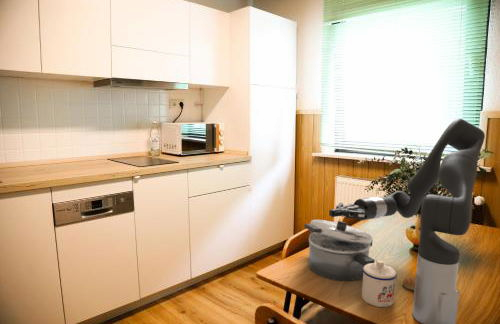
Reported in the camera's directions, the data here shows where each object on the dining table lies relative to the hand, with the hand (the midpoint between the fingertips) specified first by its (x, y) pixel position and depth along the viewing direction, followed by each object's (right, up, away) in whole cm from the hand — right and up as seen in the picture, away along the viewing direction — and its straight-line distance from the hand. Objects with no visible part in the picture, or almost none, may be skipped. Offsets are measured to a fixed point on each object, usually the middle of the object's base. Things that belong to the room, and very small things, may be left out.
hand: (330, 213), depth 114 cm
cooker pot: (+4, -20, +5) cm, 21 cm away
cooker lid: (+3, -7, +2) cm, 8 cm away
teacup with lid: (+11, -23, -15) cm, 29 cm away
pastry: (+26, -23, -9) cm, 36 cm away
